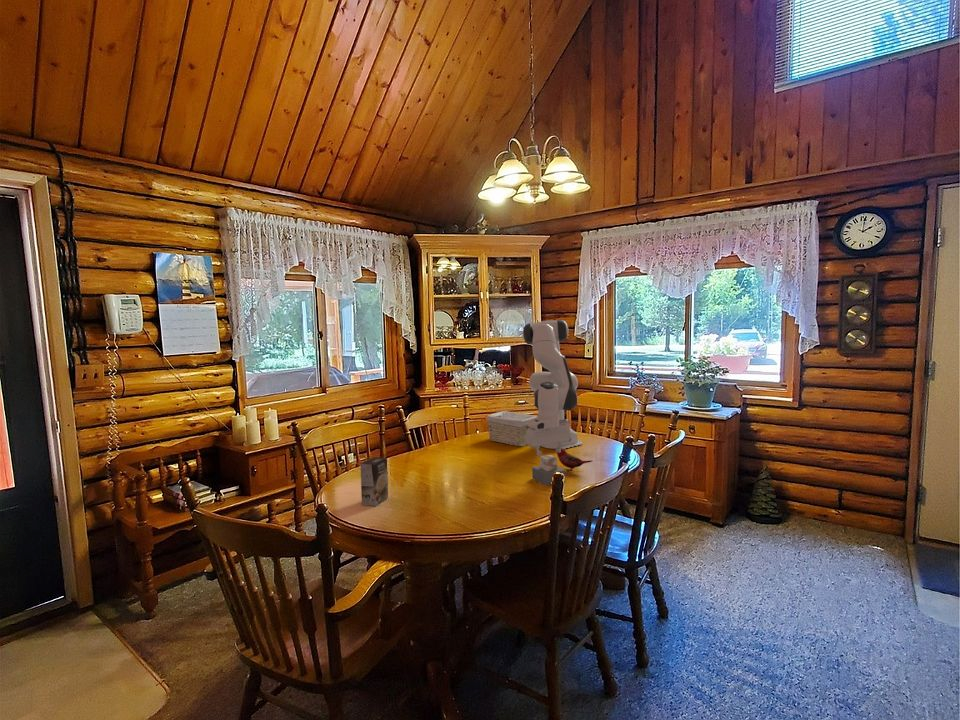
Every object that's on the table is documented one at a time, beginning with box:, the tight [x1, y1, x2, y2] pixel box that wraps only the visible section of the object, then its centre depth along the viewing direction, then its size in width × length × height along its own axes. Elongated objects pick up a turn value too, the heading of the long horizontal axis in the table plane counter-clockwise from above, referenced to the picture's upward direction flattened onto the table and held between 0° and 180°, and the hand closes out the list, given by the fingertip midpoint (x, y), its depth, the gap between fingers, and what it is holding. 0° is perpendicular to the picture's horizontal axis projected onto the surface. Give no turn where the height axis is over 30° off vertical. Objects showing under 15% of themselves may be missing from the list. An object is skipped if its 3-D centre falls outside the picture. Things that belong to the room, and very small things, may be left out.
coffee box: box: [359, 456, 389, 507], centre depth 193 cm, size 9×6×16 cm
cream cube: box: [539, 454, 558, 471], centre depth 214 cm, size 5×5×5 cm
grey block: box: [531, 465, 566, 486], centre depth 214 cm, size 10×10×5 cm
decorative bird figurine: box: [554, 448, 593, 472], centre depth 224 cm, size 3×18×10 cm, turn 59°
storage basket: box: [486, 410, 538, 447], centre depth 277 cm, size 24×16×15 cm
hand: (548, 454), depth 213 cm, fingers open, 8 cm apart
